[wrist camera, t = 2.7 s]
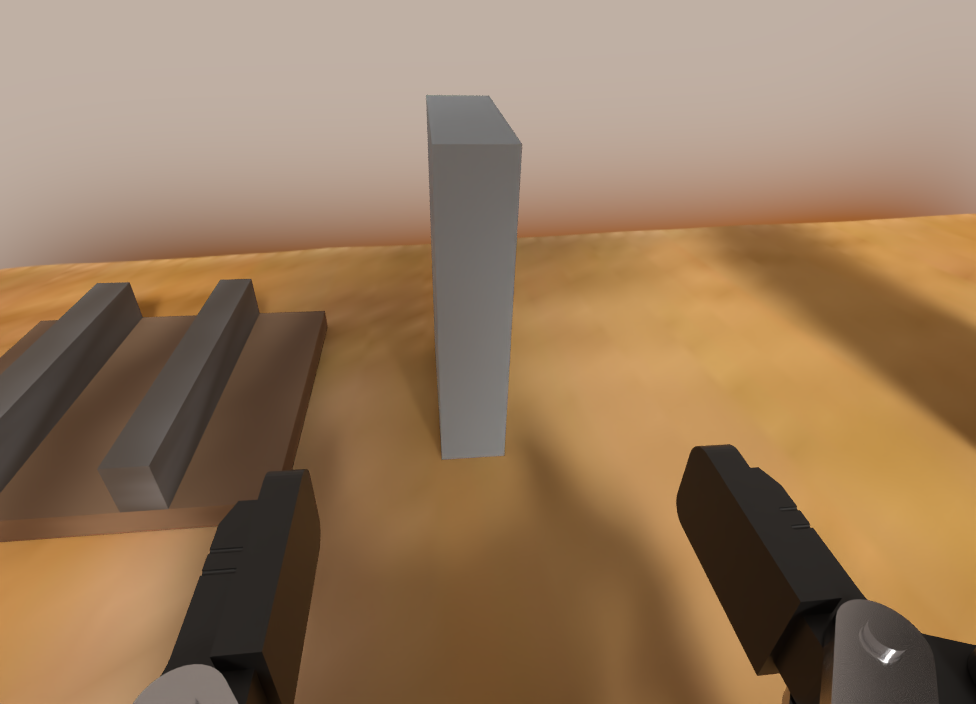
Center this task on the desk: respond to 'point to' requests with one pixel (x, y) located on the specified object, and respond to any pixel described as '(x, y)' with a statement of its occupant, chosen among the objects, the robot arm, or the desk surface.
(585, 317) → the desk surface
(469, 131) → the door panel
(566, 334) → the desk surface
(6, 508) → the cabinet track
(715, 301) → the desk surface
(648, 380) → the desk surface
